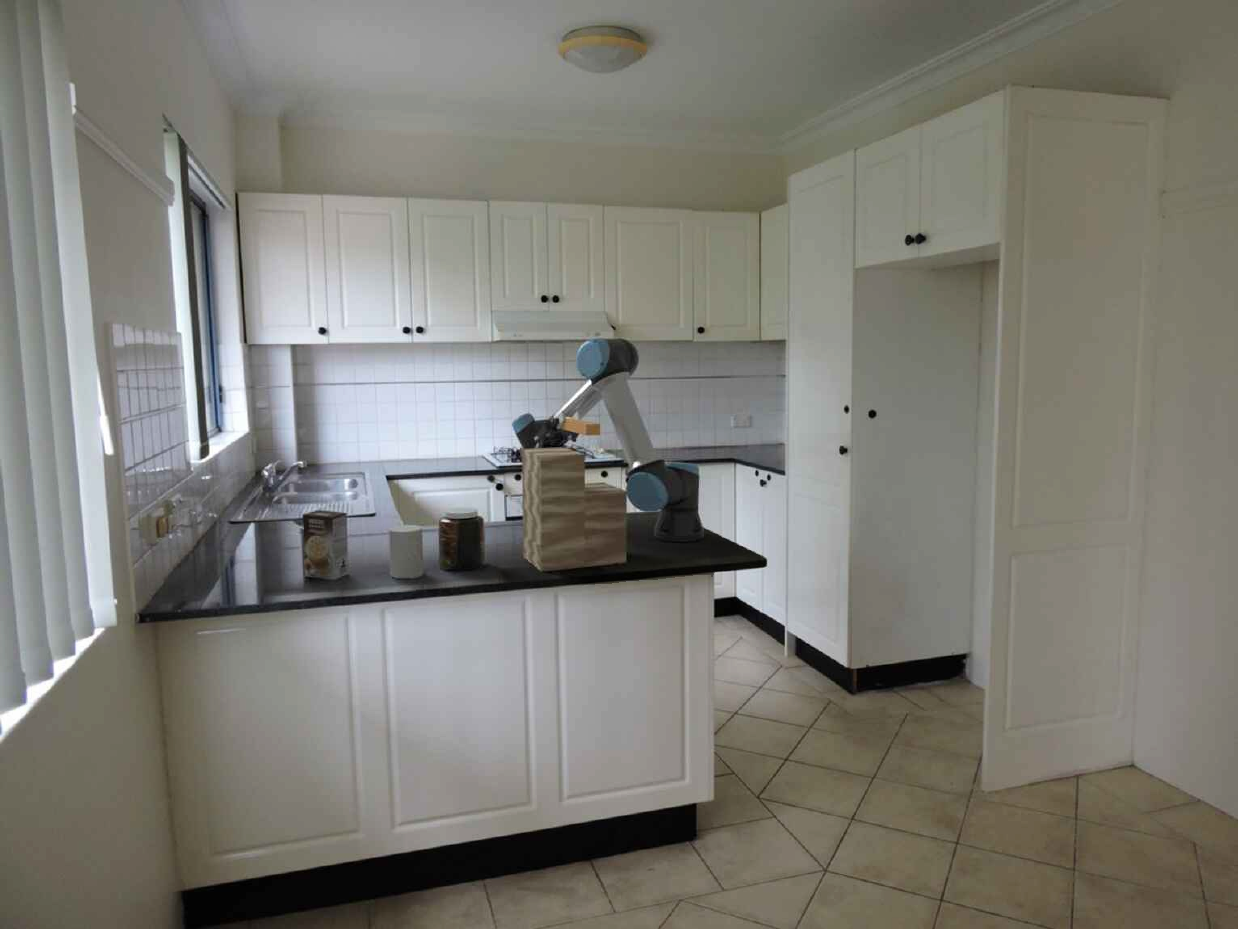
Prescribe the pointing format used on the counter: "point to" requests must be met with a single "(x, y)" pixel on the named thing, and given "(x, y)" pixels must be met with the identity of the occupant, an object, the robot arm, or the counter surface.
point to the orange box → (580, 426)
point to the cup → (406, 551)
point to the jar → (461, 540)
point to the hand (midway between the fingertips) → (571, 415)
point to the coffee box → (325, 544)
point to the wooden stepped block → (569, 513)
